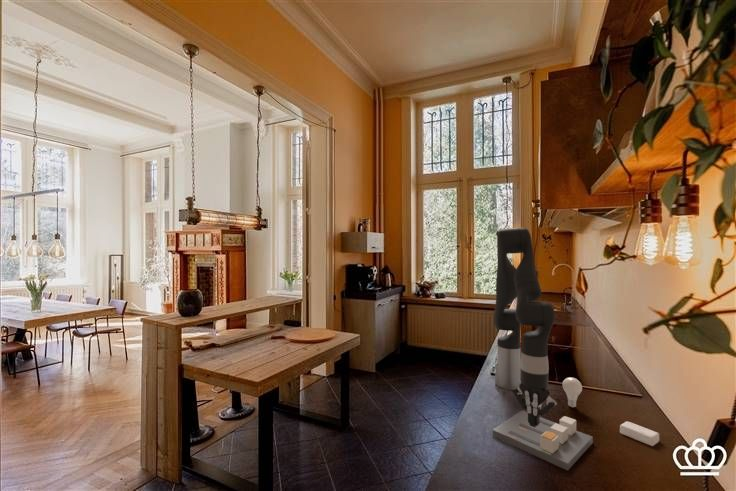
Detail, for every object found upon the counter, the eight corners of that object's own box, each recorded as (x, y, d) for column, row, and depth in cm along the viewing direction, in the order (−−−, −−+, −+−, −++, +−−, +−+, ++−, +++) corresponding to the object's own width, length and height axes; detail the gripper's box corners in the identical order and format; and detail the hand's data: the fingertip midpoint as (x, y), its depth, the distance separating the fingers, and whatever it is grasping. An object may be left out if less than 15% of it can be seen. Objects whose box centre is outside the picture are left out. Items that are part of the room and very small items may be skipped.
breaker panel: (492, 435, 110) (492, 417, 110) (522, 415, 123) (522, 399, 123) (567, 470, 93) (567, 449, 93) (592, 443, 106) (592, 424, 106)
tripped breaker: (540, 448, 100) (540, 434, 100) (546, 442, 102) (546, 430, 102) (552, 453, 97) (552, 440, 97) (558, 448, 100) (558, 435, 100)
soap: (618, 433, 112) (619, 424, 112) (626, 428, 115) (626, 420, 115) (652, 447, 105) (653, 437, 105) (660, 442, 108) (660, 432, 108)
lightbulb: (562, 408, 128) (562, 379, 128) (562, 401, 134) (562, 373, 134) (582, 412, 125) (582, 382, 125) (581, 405, 131) (581, 376, 131)
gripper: (506, 365, 106) (506, 421, 106) (552, 378, 96) (551, 440, 96) (518, 359, 111) (518, 413, 111) (562, 371, 101) (562, 430, 101)
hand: (533, 425), depth 103 cm, fingers closed
